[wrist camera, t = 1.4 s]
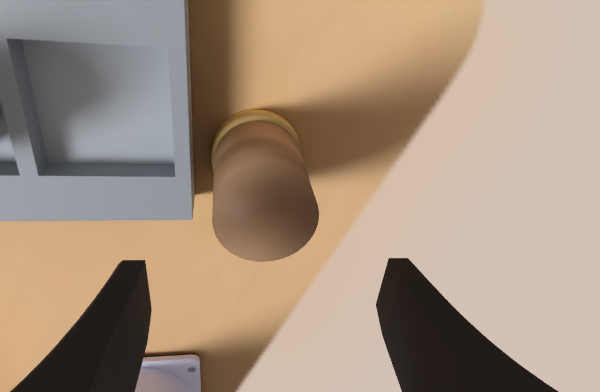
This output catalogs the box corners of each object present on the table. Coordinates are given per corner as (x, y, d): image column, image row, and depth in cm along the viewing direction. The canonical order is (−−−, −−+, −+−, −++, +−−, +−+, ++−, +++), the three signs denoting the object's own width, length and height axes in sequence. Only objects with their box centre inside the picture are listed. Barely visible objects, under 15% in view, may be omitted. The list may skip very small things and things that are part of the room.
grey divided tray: (194, 195, 23) (192, 219, 21) (-99, 194, 20) (-131, 222, 19) (187, -24, 18) (183, -17, 16) (-203, -57, 15) (-262, -54, 14)
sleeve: (295, 189, 23) (316, 263, 18) (211, 189, 23) (208, 265, 18) (303, 110, 21) (329, 169, 16) (211, 107, 21) (207, 168, 15)
